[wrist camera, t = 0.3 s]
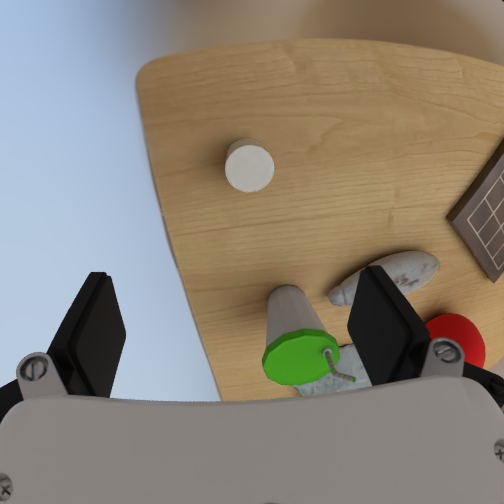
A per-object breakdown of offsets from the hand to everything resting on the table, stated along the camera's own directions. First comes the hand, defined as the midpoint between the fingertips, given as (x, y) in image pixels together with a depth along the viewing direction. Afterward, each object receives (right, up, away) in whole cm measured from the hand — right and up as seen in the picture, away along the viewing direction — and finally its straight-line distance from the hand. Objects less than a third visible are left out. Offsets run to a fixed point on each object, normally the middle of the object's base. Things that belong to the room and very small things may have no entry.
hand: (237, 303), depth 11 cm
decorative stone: (+17, -1, +26) cm, 31 cm away
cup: (+5, -4, +27) cm, 28 cm away
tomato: (+30, -11, +33) cm, 46 cm away
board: (+38, +9, +23) cm, 45 cm away
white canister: (0, +11, +18) cm, 21 cm away
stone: (+14, -19, +36) cm, 43 cm away
